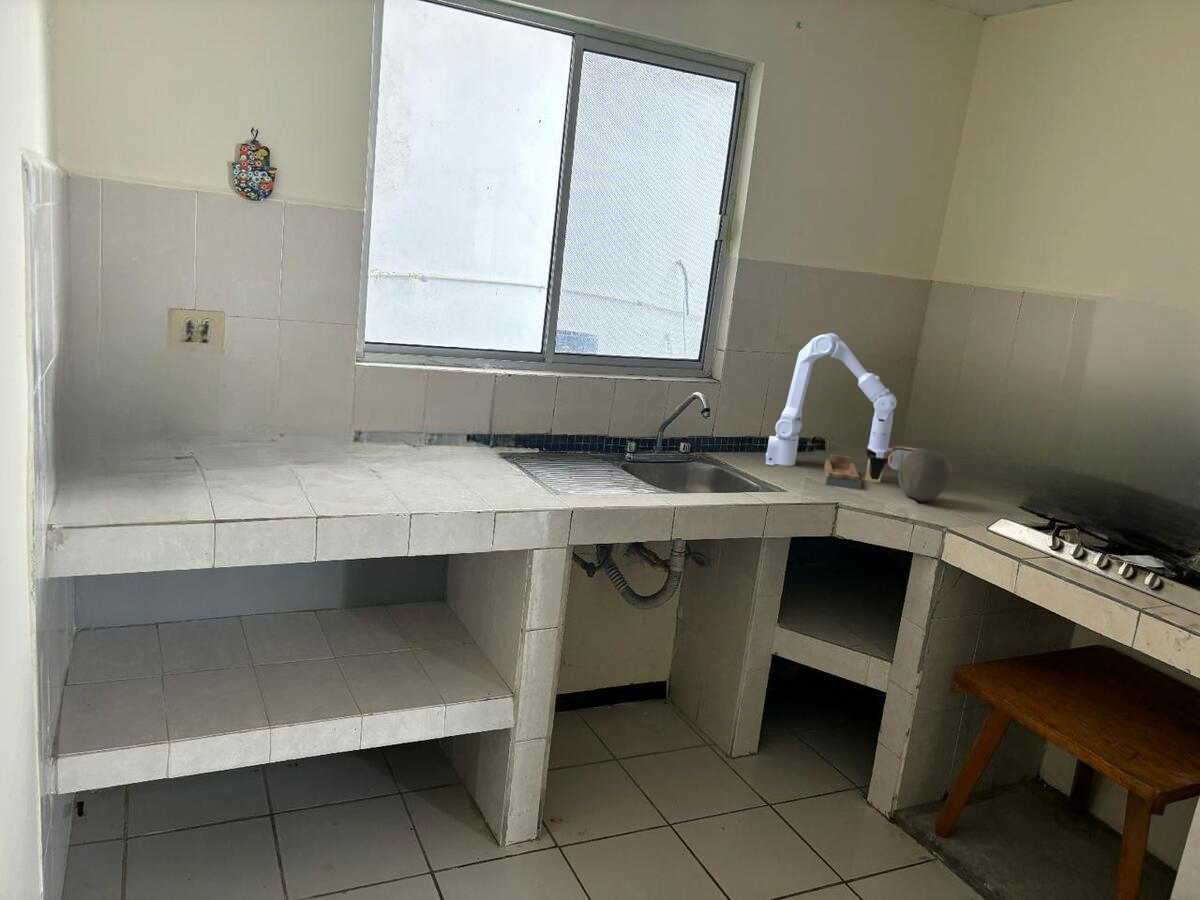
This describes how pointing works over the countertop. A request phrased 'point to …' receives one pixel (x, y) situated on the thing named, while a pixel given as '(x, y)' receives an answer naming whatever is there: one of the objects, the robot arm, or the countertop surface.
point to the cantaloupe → (924, 474)
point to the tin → (897, 456)
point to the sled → (840, 467)
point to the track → (843, 482)
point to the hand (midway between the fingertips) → (873, 476)
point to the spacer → (868, 473)
